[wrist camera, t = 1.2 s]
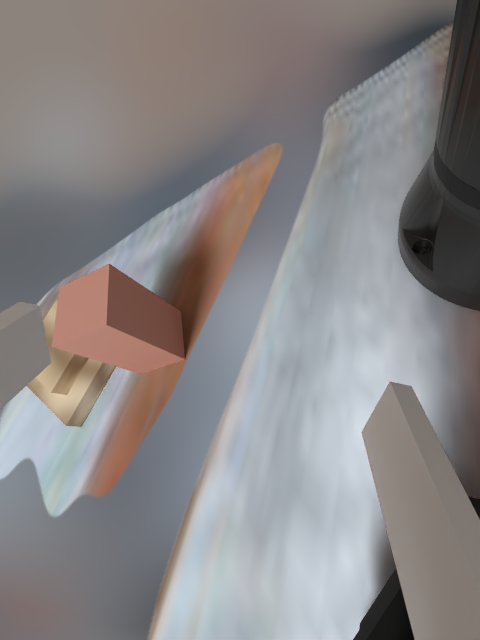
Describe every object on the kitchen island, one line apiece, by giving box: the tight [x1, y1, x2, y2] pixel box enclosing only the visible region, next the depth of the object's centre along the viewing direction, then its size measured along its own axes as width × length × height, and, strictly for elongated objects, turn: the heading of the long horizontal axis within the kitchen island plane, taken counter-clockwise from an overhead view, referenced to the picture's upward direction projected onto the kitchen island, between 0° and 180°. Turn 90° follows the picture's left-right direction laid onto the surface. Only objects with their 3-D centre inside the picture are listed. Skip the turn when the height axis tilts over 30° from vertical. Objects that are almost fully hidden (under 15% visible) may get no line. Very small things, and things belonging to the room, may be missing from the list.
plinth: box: [27, 300, 116, 427], centre depth 38 cm, size 14×14×4 cm
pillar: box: [52, 264, 185, 374], centre depth 30 cm, size 6×6×11 cm
